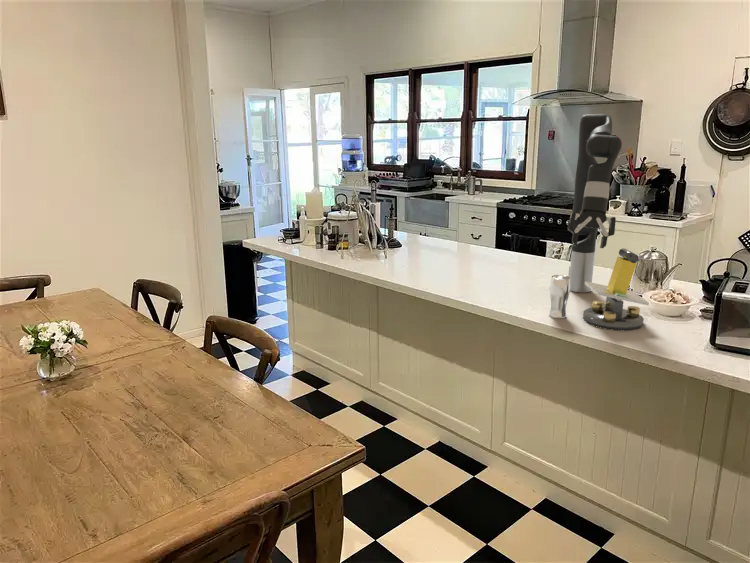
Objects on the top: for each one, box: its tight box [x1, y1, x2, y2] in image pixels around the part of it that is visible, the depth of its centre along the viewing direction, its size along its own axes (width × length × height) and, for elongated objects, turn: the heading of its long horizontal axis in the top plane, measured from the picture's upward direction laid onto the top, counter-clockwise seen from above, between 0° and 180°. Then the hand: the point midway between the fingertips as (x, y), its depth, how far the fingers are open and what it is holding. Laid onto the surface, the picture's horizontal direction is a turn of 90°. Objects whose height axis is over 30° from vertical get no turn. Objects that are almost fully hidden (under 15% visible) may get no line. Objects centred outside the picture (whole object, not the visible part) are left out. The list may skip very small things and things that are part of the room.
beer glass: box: [548, 274, 571, 320], centre depth 202 cm, size 7×7×15 cm
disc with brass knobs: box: [582, 297, 645, 331], centre depth 197 cm, size 20×20×10 cm
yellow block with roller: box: [585, 247, 650, 306], centre depth 194 cm, size 14×18×16 cm
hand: (588, 246), depth 180 cm, fingers open, 8 cm apart
